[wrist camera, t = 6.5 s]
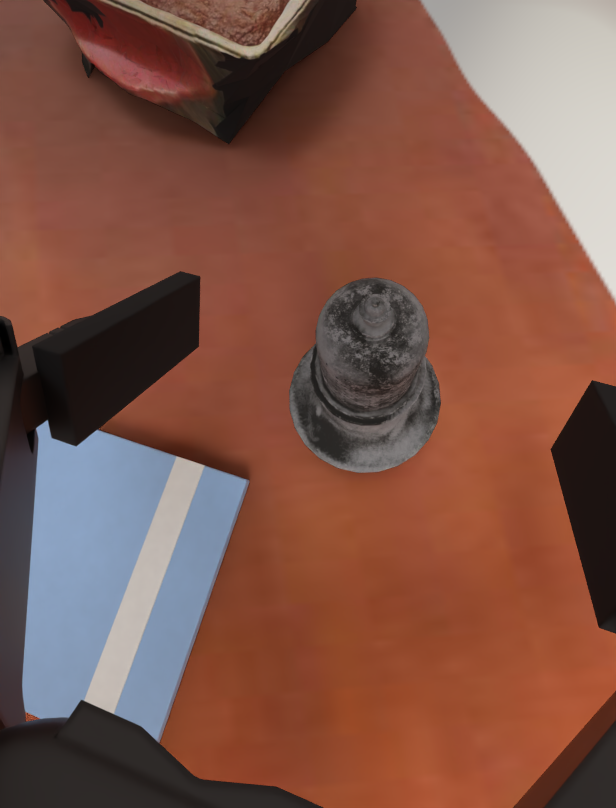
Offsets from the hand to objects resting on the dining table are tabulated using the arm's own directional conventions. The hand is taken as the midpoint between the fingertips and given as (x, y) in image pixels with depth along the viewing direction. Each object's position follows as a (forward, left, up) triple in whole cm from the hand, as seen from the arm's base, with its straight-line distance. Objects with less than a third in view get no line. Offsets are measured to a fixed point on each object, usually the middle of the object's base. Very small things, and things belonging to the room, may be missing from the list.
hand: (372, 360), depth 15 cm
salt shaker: (0, -1, -6) cm, 6 cm away
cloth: (-2, -18, -6) cm, 19 cm away
